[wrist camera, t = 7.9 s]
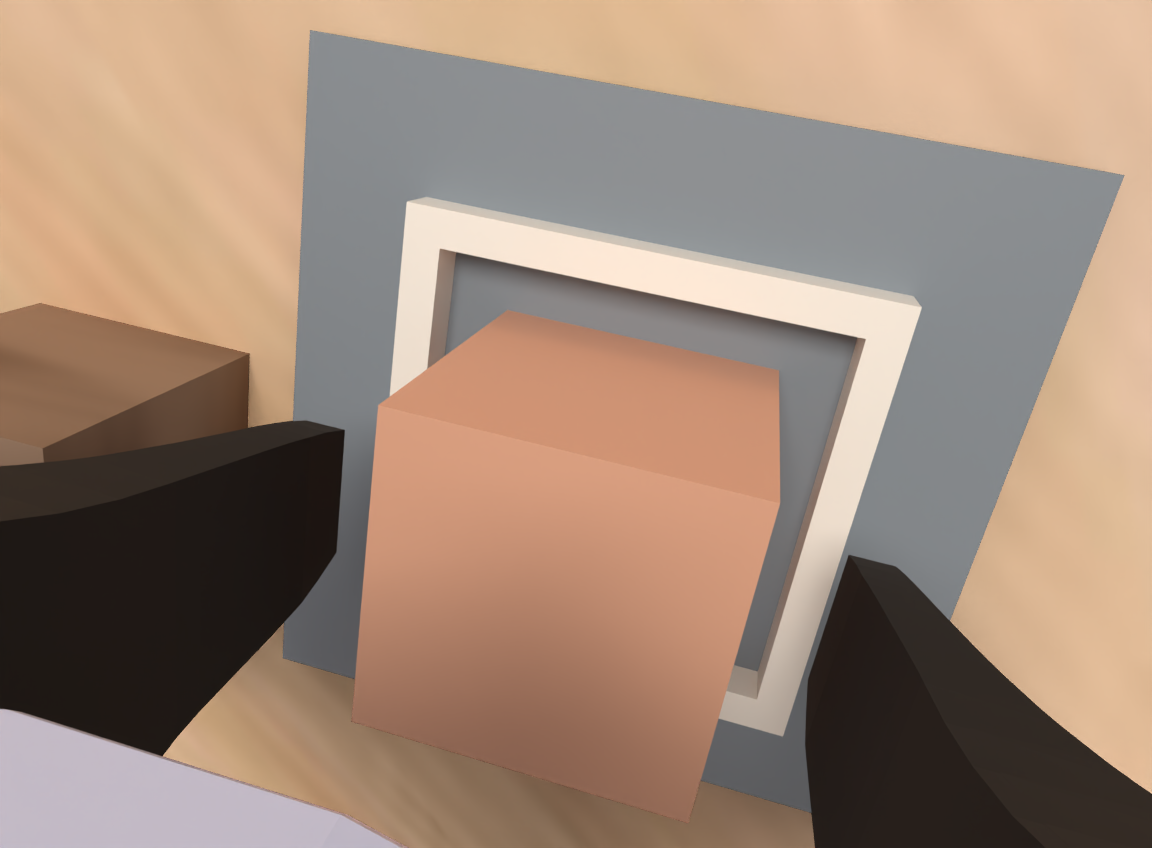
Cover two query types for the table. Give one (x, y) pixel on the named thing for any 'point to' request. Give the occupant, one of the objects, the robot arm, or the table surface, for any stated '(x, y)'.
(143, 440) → the walnut block
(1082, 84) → the table surface
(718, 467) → the terracotta block
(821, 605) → the board
